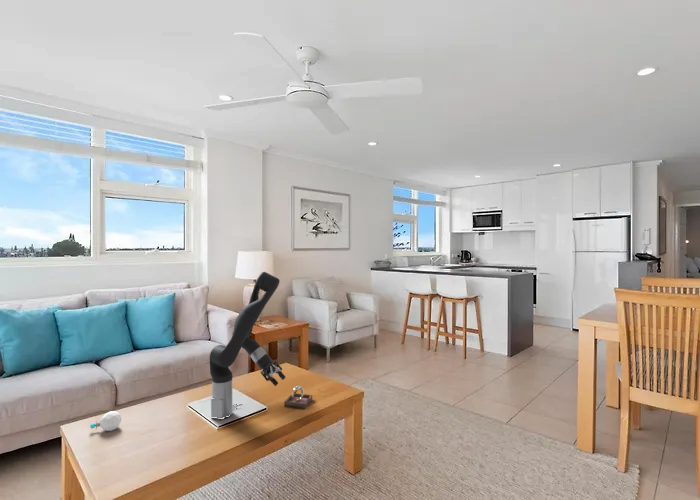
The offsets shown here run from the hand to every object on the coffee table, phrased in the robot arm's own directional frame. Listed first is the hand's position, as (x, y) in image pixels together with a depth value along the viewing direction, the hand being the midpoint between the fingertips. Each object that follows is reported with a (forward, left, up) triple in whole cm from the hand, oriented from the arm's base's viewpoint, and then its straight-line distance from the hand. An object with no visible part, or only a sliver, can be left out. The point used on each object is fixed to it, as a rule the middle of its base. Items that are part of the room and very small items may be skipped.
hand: (280, 381), depth 195 cm
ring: (0, -10, -9) cm, 14 cm away
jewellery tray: (0, -10, -10) cm, 14 cm away
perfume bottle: (-48, +61, -10) cm, 78 cm away
